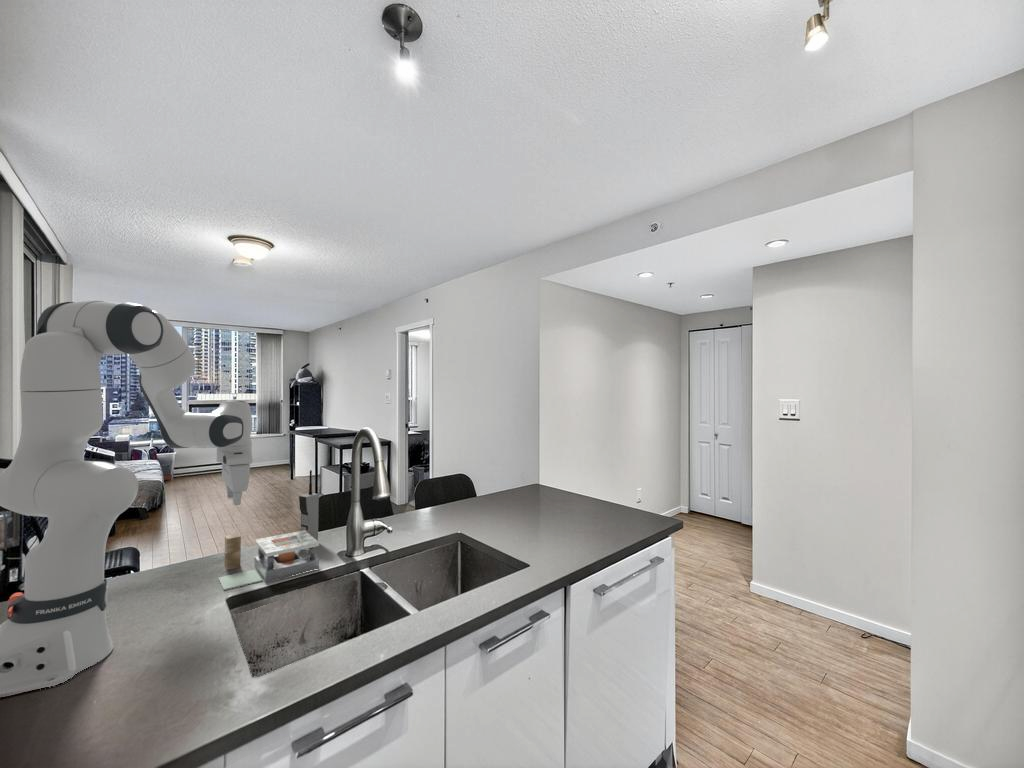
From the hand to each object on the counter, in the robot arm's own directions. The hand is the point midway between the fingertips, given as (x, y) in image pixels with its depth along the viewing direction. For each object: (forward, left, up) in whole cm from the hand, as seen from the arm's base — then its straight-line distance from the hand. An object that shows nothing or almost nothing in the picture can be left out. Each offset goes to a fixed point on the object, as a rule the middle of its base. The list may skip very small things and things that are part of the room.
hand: (233, 501), depth 133 cm
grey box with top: (+12, -11, -19) cm, 25 cm away
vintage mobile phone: (+23, +6, -20) cm, 31 cm away
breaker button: (+12, -11, -17) cm, 23 cm away
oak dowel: (0, 0, -19) cm, 19 cm away
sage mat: (0, -12, -19) cm, 23 cm away
